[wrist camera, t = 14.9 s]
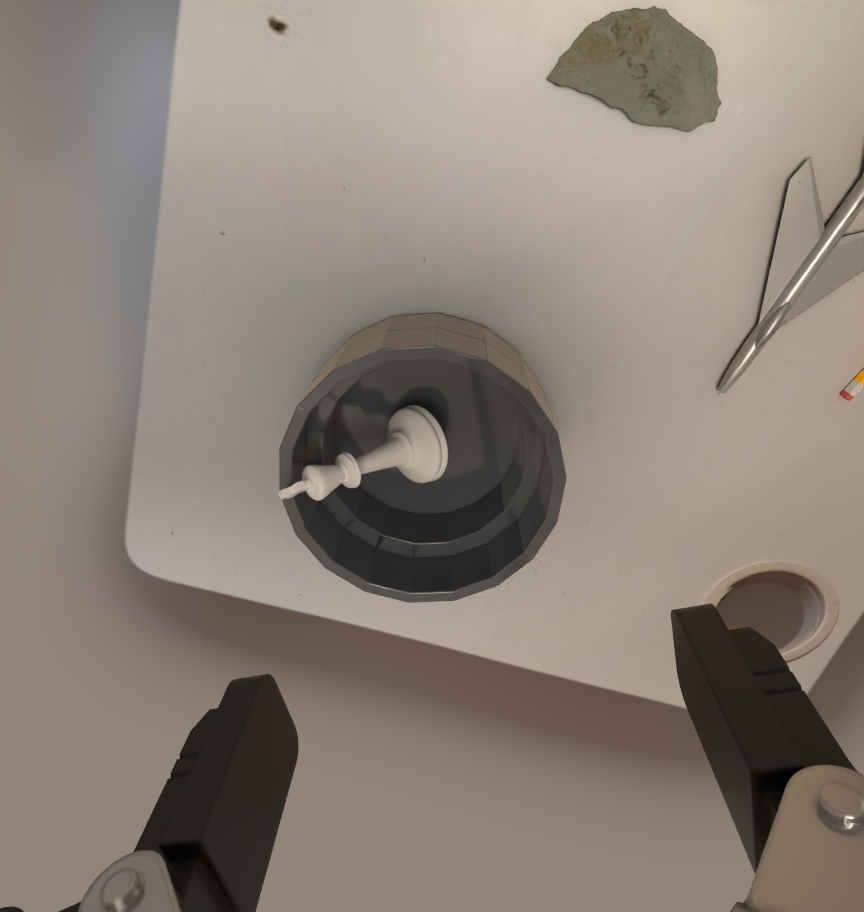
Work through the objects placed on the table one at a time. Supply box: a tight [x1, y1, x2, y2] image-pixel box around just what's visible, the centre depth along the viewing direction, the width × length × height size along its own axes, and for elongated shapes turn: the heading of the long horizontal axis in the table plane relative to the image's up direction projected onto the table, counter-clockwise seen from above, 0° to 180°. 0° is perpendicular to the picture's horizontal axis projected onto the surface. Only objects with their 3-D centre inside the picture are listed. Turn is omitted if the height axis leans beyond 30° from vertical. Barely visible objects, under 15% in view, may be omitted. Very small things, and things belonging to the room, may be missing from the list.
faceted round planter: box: [280, 313, 566, 602], centre depth 39 cm, size 15×16×8 cm
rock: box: [547, 6, 721, 132], centre depth 33 cm, size 9×2×5 cm
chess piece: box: [278, 405, 448, 501], centre depth 37 cm, size 5×5×10 cm
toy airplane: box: [717, 157, 864, 395], centre depth 36 cm, size 8×21×2 cm, turn 155°
